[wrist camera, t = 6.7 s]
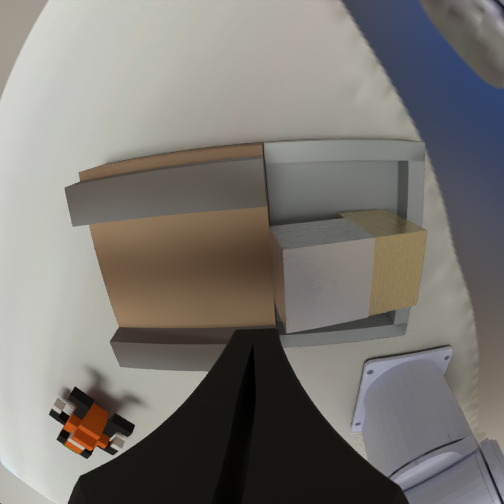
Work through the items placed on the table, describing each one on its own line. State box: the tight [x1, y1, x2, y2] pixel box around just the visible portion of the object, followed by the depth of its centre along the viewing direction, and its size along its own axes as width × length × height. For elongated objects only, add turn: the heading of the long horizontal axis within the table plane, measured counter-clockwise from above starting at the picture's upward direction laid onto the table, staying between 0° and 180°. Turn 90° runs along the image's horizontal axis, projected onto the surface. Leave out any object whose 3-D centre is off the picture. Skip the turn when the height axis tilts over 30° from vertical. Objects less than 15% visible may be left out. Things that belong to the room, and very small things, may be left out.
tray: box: [264, 139, 425, 348], centre depth 17 cm, size 12×8×2 cm
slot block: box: [65, 142, 276, 371], centre depth 17 cm, size 12×10×4 cm
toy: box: [49, 387, 135, 459], centre depth 24 cm, size 8×6×15 cm
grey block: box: [269, 218, 375, 333], centre depth 14 cm, size 4×4×3 cm
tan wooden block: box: [338, 209, 427, 316], centre depth 15 cm, size 4×4×3 cm
